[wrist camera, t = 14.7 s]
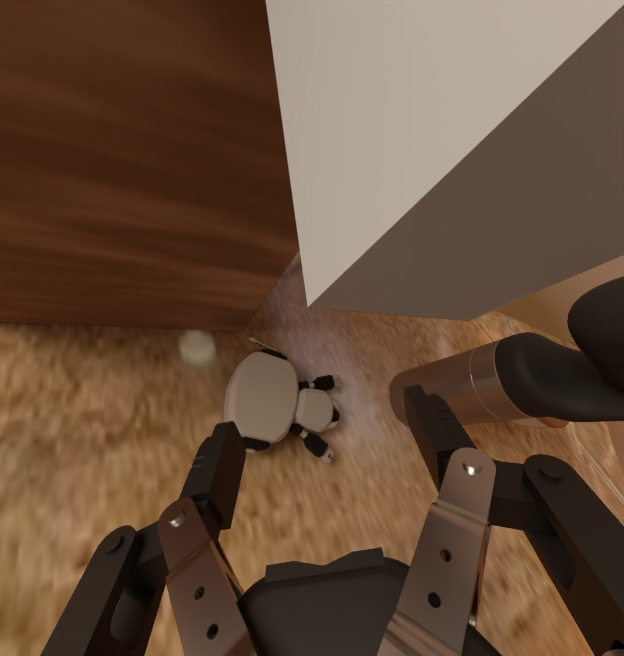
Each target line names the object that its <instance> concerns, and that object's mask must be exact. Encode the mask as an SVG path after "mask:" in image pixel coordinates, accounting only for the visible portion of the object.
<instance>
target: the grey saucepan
mask: <svg viewBox="0 0 624 656" xmlns="http://www.w3.org/2000/svg"><path fill="white" fill-rule="evenodd" d="M266 7H267V14H268V21H269V29H270V36H271V43H272V51H273V58H274V65H275V73H276V80H277V87H278V94H279V102H280V109H281V116H282V124H283V131H284V138H285V146H286V153H287V160H288V167H289V175H290V182H291V189H292V197H293V204H294V211H295V219H296V226H297V233H298V240H299V248H300V255H301V262H302V270H303V277H304V284H305V292H306V299H307V306H308V307H311V308H322V309H334V310H345V311H357V312H368V313H380V314H392V315H403V316H415V317H426V318H438V319H449V320H461V321H470V320H472V319H474V318H477V317H479V316H481V315H484V314H486V313H488V312H491V311H493V310H495V309H498V308H500V307H503V306H505V305H507V304H510V303H512V302H514V301H517V300H519V299H521V298H524V297H526V296H528V295H531V294H533V293H535V292H538V291H540V290H542V289H545V288H547V287H550V286H552V285H554V284H557V283H559V282H561V281H564V280H566V279H568V278H571V277H573V276H575V275H578V274H580V273H583V272H585V271H587V270H590V269H592V268H594V267H597V266H599V265H601V264H604V263H606V262H608V261H611V260H613V259H615V258H618V257H620V256H623V255H624V0H266Z"/></svg>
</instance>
